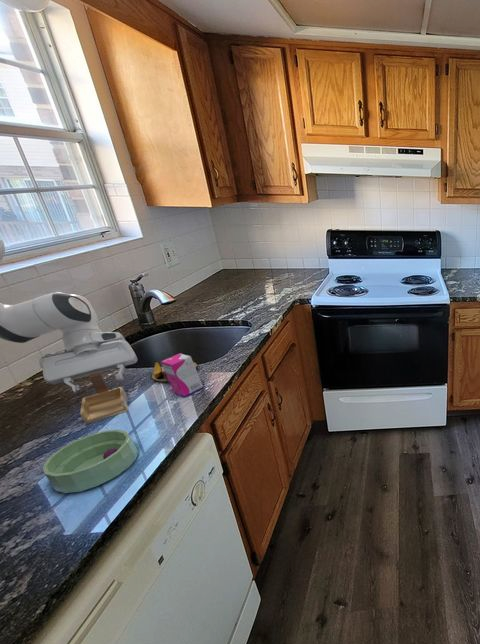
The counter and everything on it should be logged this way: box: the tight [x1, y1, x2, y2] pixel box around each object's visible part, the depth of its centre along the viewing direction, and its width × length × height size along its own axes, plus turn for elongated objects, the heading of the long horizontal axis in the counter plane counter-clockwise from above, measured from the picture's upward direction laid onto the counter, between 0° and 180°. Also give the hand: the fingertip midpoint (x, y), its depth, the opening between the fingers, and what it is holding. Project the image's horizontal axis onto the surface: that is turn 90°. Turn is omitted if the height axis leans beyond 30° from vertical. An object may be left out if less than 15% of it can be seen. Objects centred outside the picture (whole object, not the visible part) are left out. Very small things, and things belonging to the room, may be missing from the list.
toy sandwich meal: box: [151, 361, 198, 383], centre depth 121 cm, size 12×14×5 cm
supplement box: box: [160, 353, 204, 398], centre depth 110 cm, size 6×6×12 cm
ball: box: [103, 449, 118, 459], centre depth 85 cm, size 3×3×3 cm
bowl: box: [42, 429, 139, 494], centre depth 82 cm, size 14×14×6 cm
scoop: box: [79, 372, 129, 425], centre depth 104 cm, size 12×9×9 cm
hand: (99, 385), depth 106 cm, fingers open, 8 cm apart
